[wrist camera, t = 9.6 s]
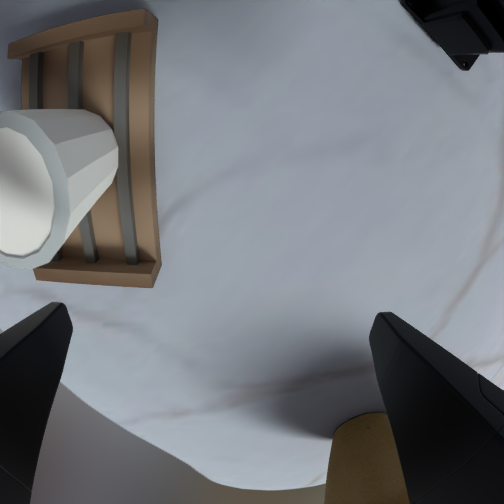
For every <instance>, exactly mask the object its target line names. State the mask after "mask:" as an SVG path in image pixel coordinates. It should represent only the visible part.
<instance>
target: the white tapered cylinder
mask: <svg viewBox="0 0 504 504" xmlns="http://www.w3.org/2000/svg"><path fill="white" fill-rule="evenodd" d="M117 168H118V145H117V142H116V139H115V137H114V134H113V131H112V129H111V128H110V127H109V125H108V124H107V123H106V122H105V121H104V120H103V119H102V118H101V117H100V116H99V115H97V114H94V113H92V112H89V111H87V110H84V109H29V110H10V111H4V112H0V262H2V263H4V264H5V265H7V266H9V267H14V268H20V269H27V270H31V269H34V268H36V267H39V266H41V265H44V264H46V263H49V262H50V261H51V259H52V258H53V257H54V255H55V254H56V253H57V251H58V250H59V249H60V248H61V246H62V245H63V244H64V242H65V241H66V240H67V238H68V237H69V236H70V234H71V233H72V232H73V230H74V229H75V228H76V226H77V225H78V224H79V222H80V221H81V220H82V219H83V217H84V216H85V215H86V214H87V212H88V211H89V210H90V209H91V207H92V206H93V205H94V204H95V202H96V201H97V200H98V199H99V198H100V196H101V195H102V194H103V193H104V192H105V191H106V189H107V188H108V187H109V186H110V185H111V184H112V181H113V179H114V176H115V173H116V171H117Z"/></svg>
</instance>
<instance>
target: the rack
mask: <svg viewBox="0 0 504 504" xmlns="http://www.w3.org/2000/svg"><path fill="white" fill-rule="evenodd" d="M157 29H158V19H157V18H156V17H154V16H153V15H152V14H151V13H150V12H149V11H148V10H146V9H145V8H143V9H136V10H129V11H123V12H118V13H112V14H107V15H102V16H97V17H93V18H89V19H84V20H80V21H76V22H73V23H69V24H65V25H62V26H58V27H55V28H52V29H49V30H45V31H42V32H39V33H36V34H34V35H31V36H28V37H25V38H23V39H20V40H17V41H15V42H12V43H10V44H9V46H8V59H22V77H21V107H22V110H29V109H84V110H87V111H89V112H92V113H94V114H97V115H99V116H100V117H101V118H102V119H103V120H104V121H105V122H106V123H107V124H108V125H109V127H110V128H111V129H112V131H113V134H114V137H115V139H116V142H117V145H118V168H117V171H116V173H115V176H114V179H113V181H112V184H111V185H110V186H109V187H108V188H107V189H106V191H105V192H104V193H103V194H102V195H101V196H100V198H99V199H98V200H97V201H96V202H95V204H94V205H93V206H92V207H91V209H90V210H89V211H88V212H87V214H86V215H85V216H84V217H83V219H82V220H81V221H80V222H79V224H78V225H77V226H76V228H75V229H74V230H73V232H72V233H71V234H70V236H69V237H68V238H67V240H66V241H65V242H64V244H63V245H62V246H61V248H60V249H59V250H58V251H57V253H56V254H55V255H54V257H53V258H52V259H51V261H50V262H49V263H46V264H44V265H41V266H39V267H36V268H34V269H33V271H34V274H35V277H36V280H41V281H52V282H65V283H78V284H92V285H106V286H123V287H140V288H153V286H154V283H155V281H156V278H157V276H158V273H159V271H160V268H161V266H162V263H161V252H160V241H159V229H158V215H157V199H156V179H155V148H154V92H155V62H156V43H157Z"/></svg>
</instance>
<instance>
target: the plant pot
mask: <svg viewBox="0 0 504 504" xmlns="http://www.w3.org/2000/svg"><path fill="white" fill-rule="evenodd" d="M324 504H410V503H409V498H408V494H407V489H406V485H405V481H404V476H403V472H402V468H401V464H400V460H399V456H398V452H397V449H396V445H395V441H394V437H393V434H392V430H391V426H390V423H389V419H388V416H387V415H386V414H385V413H379V412H377V413H368V414H364V415H361V416H358V417H356V418H353V419H351V420H349V421H347V422H345V423H344V424H342V425H341V426H340V427H339V428H338V429H337V430H336V431H335V433H334V436H333V441H332V446H331V452H330V458H329V464H328V472H327V480H326V490H325V502H324Z"/></svg>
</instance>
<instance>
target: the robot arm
mask: <svg viewBox="0 0 504 504" xmlns="http://www.w3.org/2000/svg"><path fill="white" fill-rule="evenodd" d="M408 1H410V2H411V4H412V6H411V5H409V3H408ZM402 4H403V6H404V7H405V8H406V9H407V10H408V11H409V12H410V13H411V14H412V15H413V16H414V17H415V18H416V19H417V20H418V21H419V22H420V23H421V24H422V25H423V27H424V29H425V30H426V31H427V32H428V33H429V34H430V35H431V36H432V37H433V39H434V40H435V41H436V42H437V43H438V44H439V45H440V47H441V48H442V49H443V50H444V51H445V52H446V54H448V55H449V56H450V57H451V58H452V60H453V61H454V62H455V63H456V65H457V66H458V67H459V68H460V69H461V70H463V71H468V70H469V69H470V68H471V67H472V65H473V64H474V62H475V61H476V60H477V58H478V57H479V55H480V54H488V53H504V0H402ZM463 61H464V63H465V66H464V65H463ZM72 332H73V326H72V322H71V319H70V316H69V314H68V311H67V308H66V306H65V304H63V303H59V302H51V303H50V304H48V305H46V306H45V307H43V308H41V309H40V310H38V311H36V312H35V313H33V314H31V315H30V316H28V317H27V318H25V319H23V320H22V321H20V322H19V323H17V324H15V325H14V326H12V327H11V328H9V329H7V330H6V331H4V332H3V333H1V334H0V504H30V499H31V493H32V492H31V491H32V486H33V481H34V476H35V471H36V466H37V462H38V457H39V453H40V449H41V444H42V440H43V436H44V433H45V429H46V425H47V421H48V418H49V414H50V411H51V408H52V404H53V401H54V398H55V395H56V391H57V388H58V385H59V382H60V379H61V376H62V372H63V368H64V364H65V360H66V356H67V352H68V348H69V344H70V340H71V336H72ZM369 342H370V347H371V351H372V356H373V361H374V366H375V371H376V376H377V381H378V385H379V389H380V392H381V396H382V399H383V402H384V406H385V409H386V412H387V416H388V419H389V423H390V426H391V430H392V434H393V437H394V441H395V445H396V449H397V452H398V456H399V460H400V464H401V468H402V472H403V476H404V481H405V485H406V489H407V494H408V498H409V503H410V504H504V390H502V389H500V388H499V387H497V386H496V385H495V384H493V383H492V382H490V381H489V380H487V379H486V378H485V377H483V376H482V375H481V374H478V373H477V372H476V371H475V370H474V369H472V368H471V367H469V366H468V365H467V364H465V363H464V362H462V361H461V360H460V359H458V358H457V357H455V356H454V355H453V354H451V353H450V352H448V351H447V350H446V349H444V348H443V347H441V346H440V345H438V344H437V343H436V342H434V341H433V340H431V339H430V338H428V337H427V336H426V335H424V334H423V333H421V332H420V331H418V330H417V329H415V328H414V327H413V326H411V325H410V324H408V323H407V322H405V321H404V320H402V319H401V318H399V317H398V316H397V315H395V314H394V313H392V312H379V313H378V314H377V315H376V317H375V320H374V323H373V326H372V329H371V331H370V335H369Z"/></svg>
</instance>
